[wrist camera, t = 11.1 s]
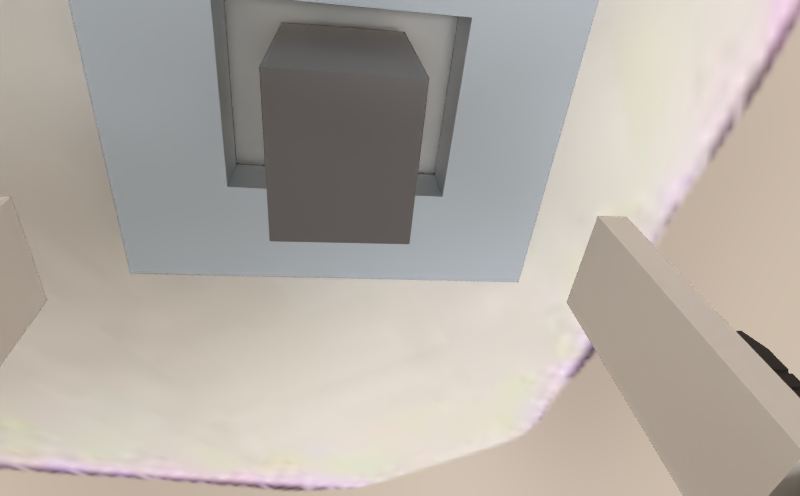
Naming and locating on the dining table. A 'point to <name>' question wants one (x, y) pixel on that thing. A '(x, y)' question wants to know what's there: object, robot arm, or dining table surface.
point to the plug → (341, 134)
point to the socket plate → (246, 184)
